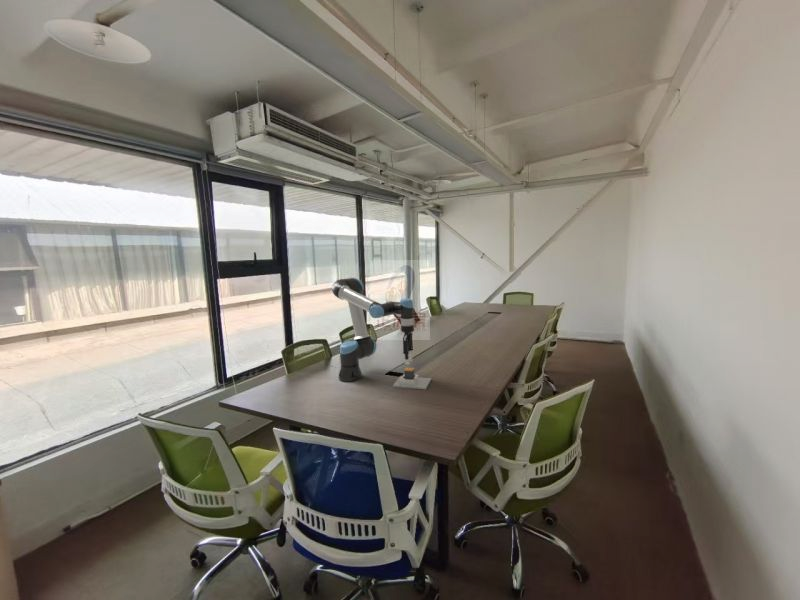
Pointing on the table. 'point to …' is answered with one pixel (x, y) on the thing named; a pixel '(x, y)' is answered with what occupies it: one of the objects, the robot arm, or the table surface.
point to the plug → (409, 373)
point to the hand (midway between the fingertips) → (408, 362)
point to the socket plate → (412, 382)
